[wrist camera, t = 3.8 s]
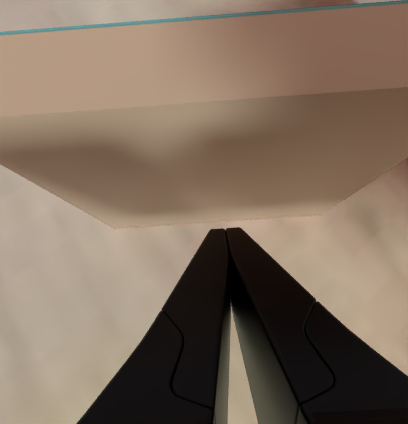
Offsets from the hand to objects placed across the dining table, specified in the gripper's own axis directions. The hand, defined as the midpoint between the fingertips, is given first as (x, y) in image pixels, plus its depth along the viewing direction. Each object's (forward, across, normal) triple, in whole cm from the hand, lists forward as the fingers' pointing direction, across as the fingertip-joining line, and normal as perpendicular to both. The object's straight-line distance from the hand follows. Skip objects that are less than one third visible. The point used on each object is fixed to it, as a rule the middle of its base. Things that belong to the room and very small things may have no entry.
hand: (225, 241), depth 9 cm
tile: (+9, 0, +4) cm, 9 cm away
